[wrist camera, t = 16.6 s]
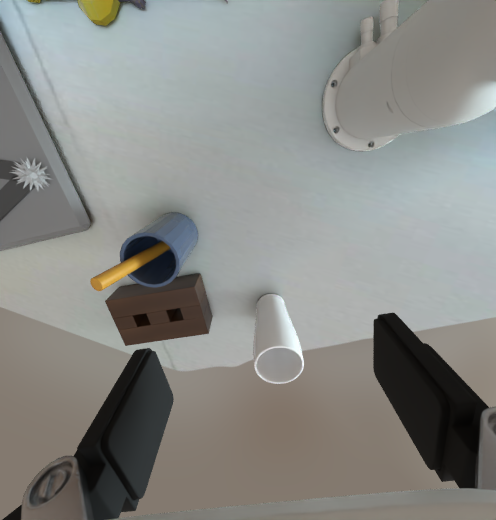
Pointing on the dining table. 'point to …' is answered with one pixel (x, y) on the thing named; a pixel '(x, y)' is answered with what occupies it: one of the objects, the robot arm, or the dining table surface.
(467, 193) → the dining table surface
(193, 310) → the brown wooden block
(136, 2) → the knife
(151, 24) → the dining table surface
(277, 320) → the drinking glass
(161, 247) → the orange rod
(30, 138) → the decorative plate
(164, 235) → the tumbler
